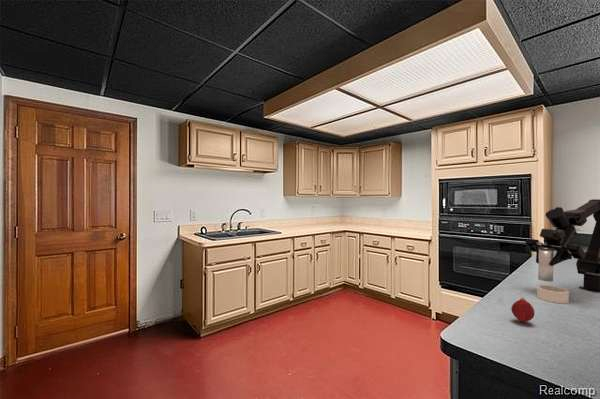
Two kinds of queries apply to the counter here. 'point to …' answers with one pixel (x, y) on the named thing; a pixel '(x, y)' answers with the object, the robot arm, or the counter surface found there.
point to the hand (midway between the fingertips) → (543, 263)
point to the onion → (522, 310)
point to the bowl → (553, 294)
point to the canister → (545, 264)
